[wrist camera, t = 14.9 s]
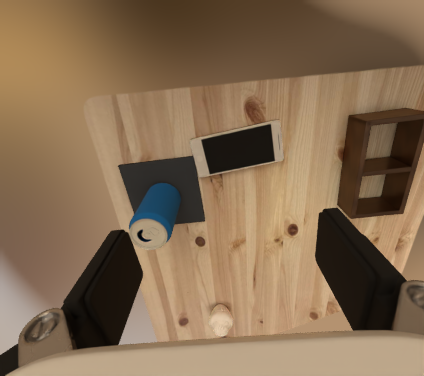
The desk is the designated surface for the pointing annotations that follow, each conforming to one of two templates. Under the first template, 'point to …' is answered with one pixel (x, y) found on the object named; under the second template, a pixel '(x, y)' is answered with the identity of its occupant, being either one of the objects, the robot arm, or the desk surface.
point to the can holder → (380, 162)
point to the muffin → (220, 320)
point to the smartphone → (238, 148)
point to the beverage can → (155, 217)
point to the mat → (171, 174)
